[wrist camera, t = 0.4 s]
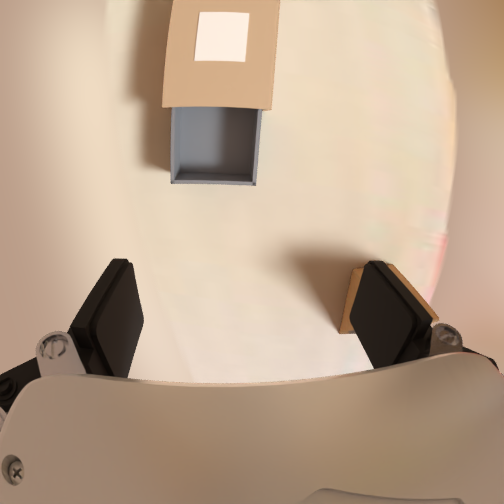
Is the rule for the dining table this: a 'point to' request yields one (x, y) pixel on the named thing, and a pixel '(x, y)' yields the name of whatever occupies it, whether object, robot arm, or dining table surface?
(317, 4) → the dining table surface
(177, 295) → the dining table surface
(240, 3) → the mailer sleeve
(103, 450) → the robot arm
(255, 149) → the tray
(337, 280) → the dining table surface
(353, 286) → the sandwich container
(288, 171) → the dining table surface
